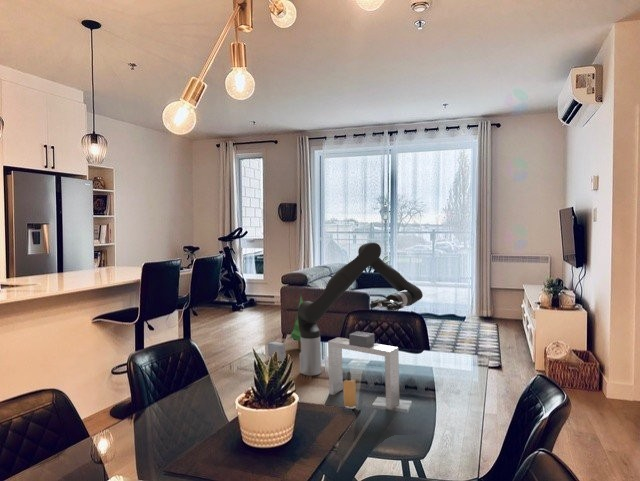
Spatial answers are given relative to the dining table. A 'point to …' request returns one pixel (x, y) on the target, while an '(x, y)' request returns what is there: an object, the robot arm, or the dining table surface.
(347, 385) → the orange plug
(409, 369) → the dining table surface
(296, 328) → the decorative tree
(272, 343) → the medicine box
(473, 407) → the dining table surface
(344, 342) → the white arch
